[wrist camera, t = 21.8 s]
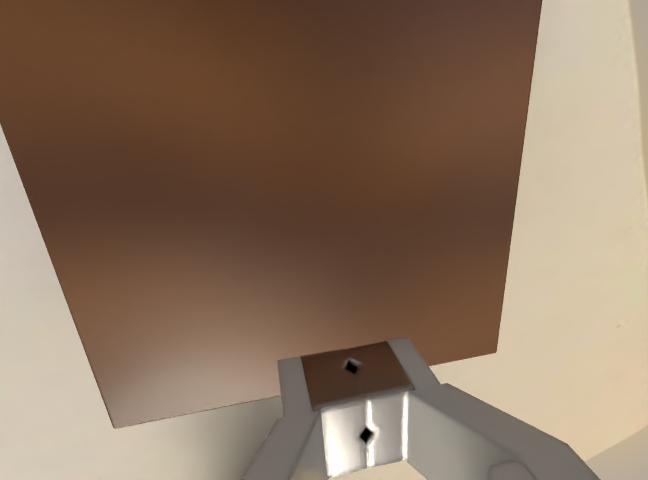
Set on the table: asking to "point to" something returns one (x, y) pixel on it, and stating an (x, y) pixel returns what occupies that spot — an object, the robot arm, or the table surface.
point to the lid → (267, 180)
